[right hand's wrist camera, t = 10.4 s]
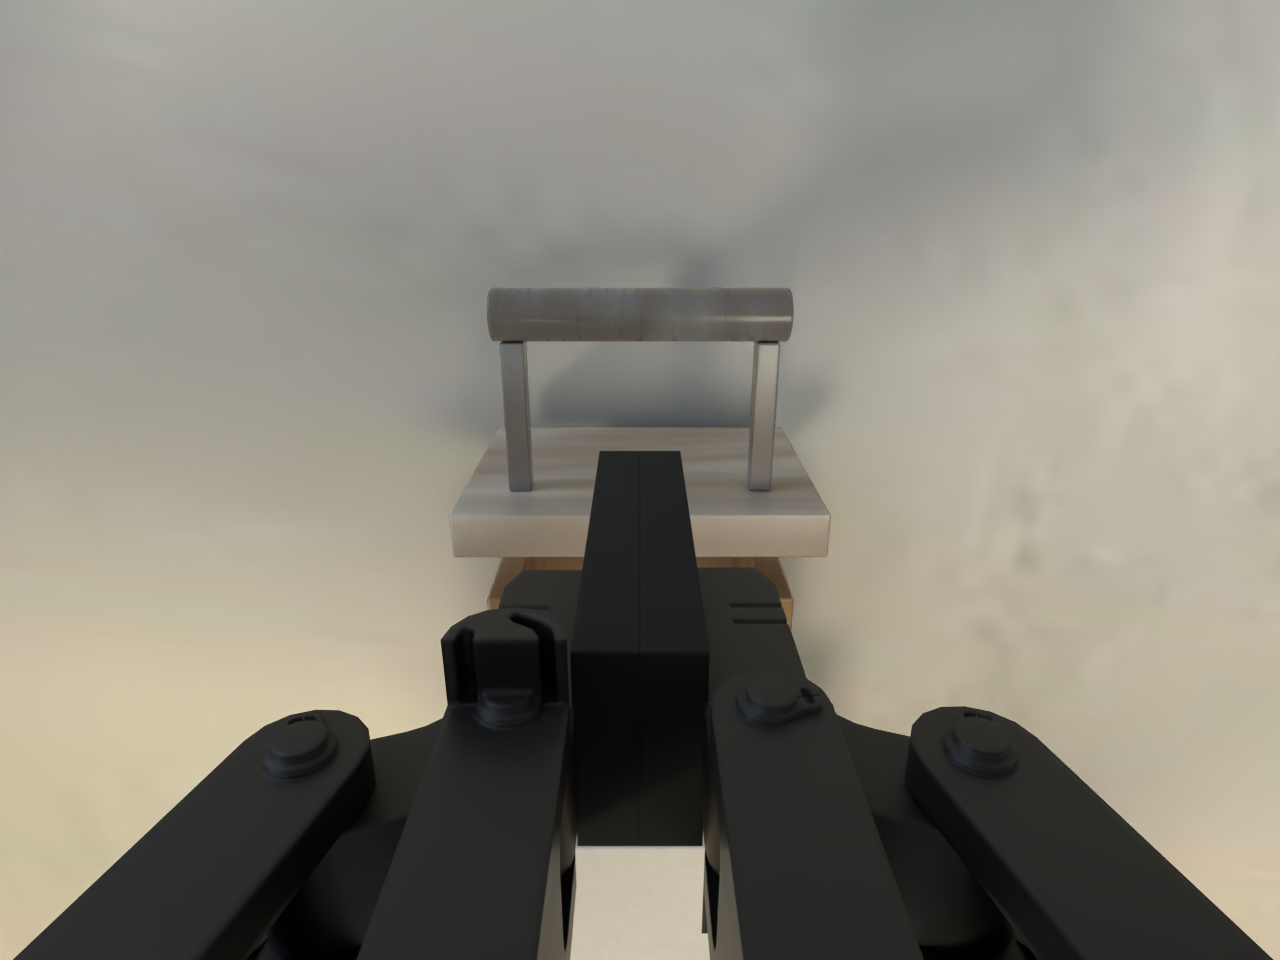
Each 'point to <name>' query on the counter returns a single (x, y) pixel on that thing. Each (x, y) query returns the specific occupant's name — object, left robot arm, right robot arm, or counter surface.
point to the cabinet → (639, 903)
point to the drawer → (640, 439)
